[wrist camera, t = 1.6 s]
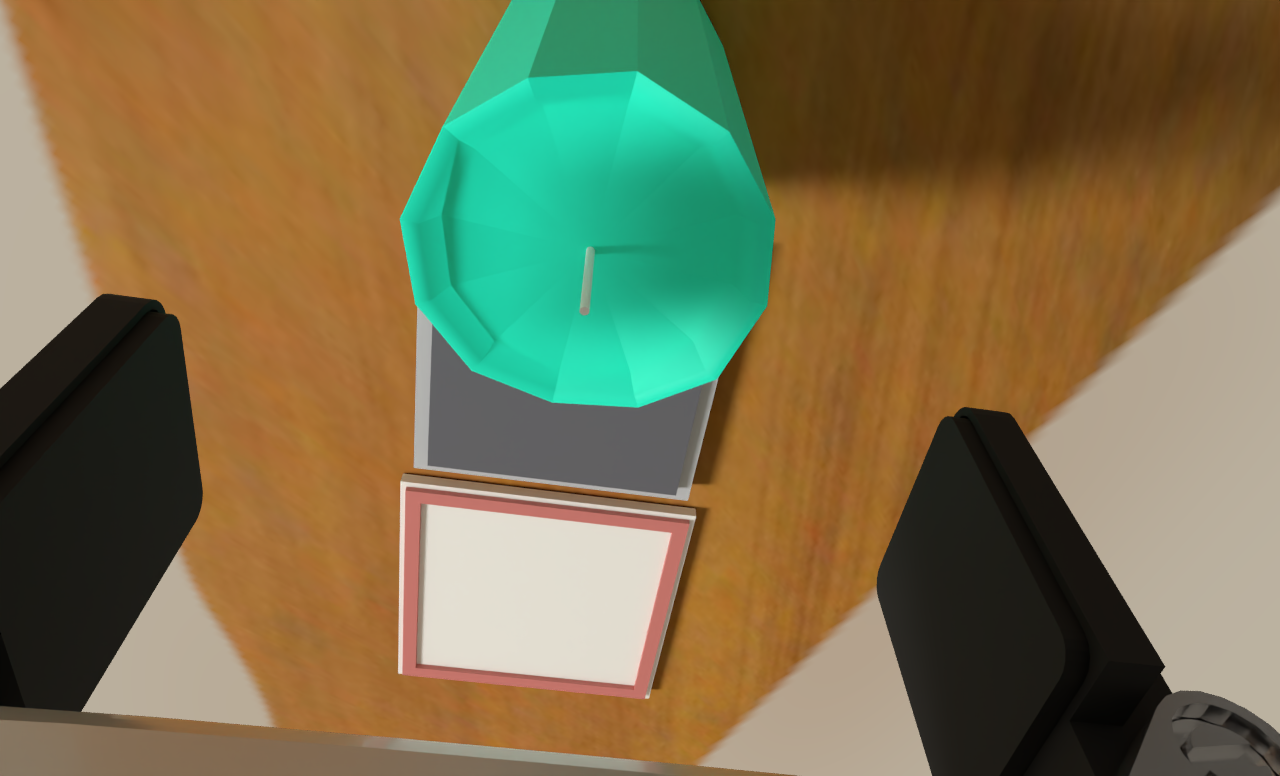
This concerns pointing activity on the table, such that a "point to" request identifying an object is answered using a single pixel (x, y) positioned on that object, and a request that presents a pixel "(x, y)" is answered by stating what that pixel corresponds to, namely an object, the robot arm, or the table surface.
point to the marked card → (536, 586)
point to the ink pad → (551, 431)
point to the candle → (594, 206)
